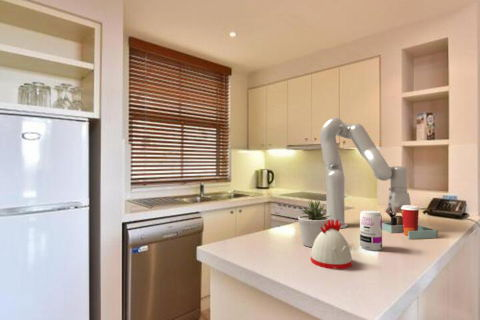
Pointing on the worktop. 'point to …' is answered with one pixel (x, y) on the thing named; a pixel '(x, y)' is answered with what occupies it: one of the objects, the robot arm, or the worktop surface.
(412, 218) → the paper cup
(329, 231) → the white crested dome
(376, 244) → the supplement can
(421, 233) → the caddy
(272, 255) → the worktop surface
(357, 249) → the worktop surface
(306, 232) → the potted plant
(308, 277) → the worktop surface
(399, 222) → the walnut block
